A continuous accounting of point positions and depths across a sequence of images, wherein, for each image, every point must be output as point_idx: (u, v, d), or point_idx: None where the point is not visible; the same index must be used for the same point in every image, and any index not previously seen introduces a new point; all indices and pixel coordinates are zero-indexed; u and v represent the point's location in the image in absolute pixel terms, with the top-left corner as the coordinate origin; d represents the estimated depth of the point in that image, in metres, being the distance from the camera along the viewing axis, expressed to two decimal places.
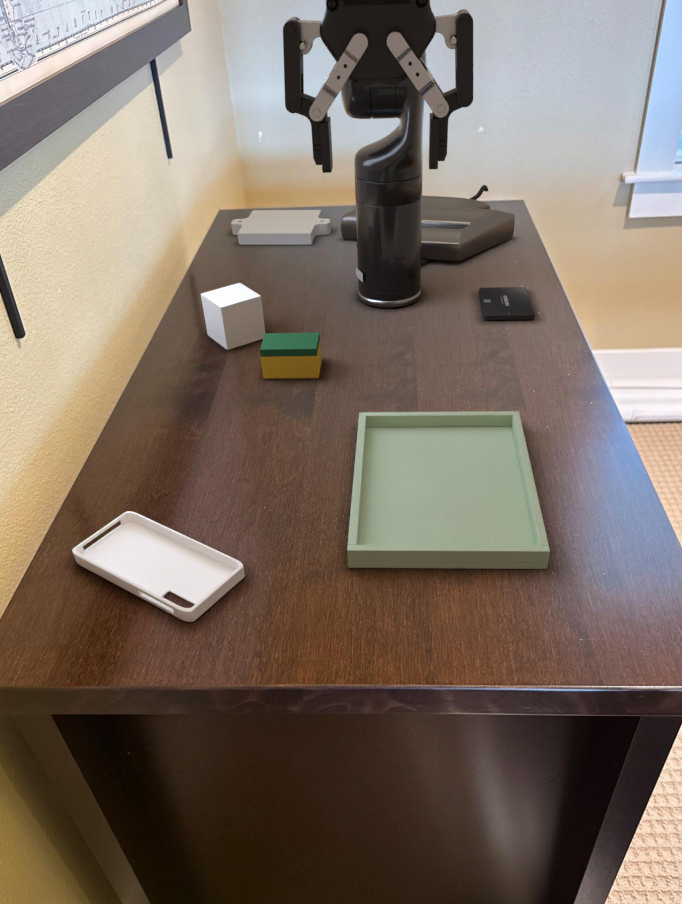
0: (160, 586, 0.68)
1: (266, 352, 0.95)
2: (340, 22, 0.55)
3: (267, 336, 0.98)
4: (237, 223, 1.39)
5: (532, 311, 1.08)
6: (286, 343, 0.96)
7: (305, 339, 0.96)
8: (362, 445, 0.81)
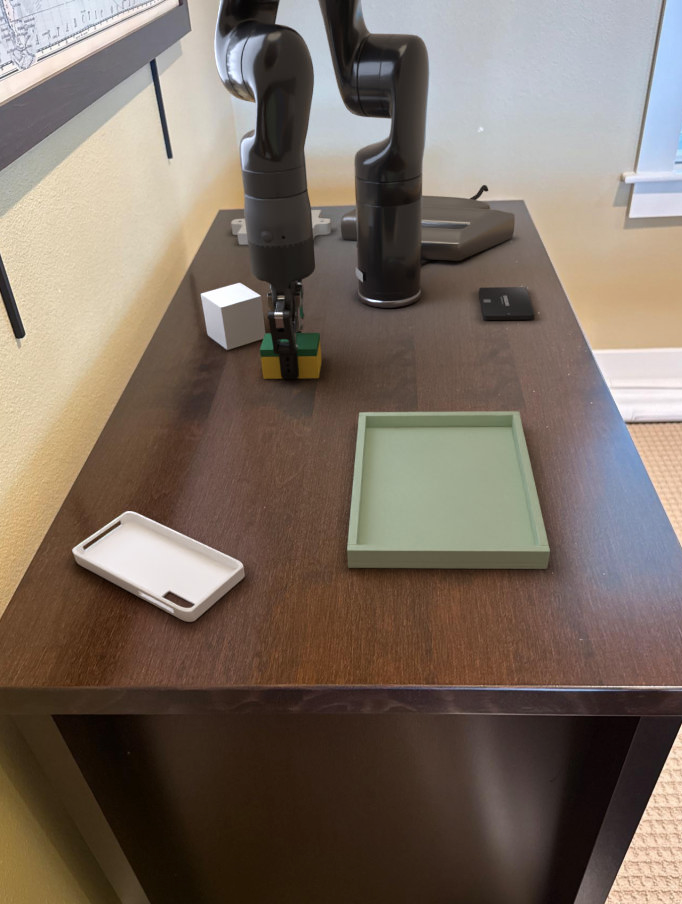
0: (160, 586, 0.68)
1: (266, 353, 0.95)
2: None
3: (267, 336, 0.98)
4: (237, 223, 1.39)
5: (532, 311, 1.08)
6: None
7: (305, 340, 0.96)
8: (362, 445, 0.81)
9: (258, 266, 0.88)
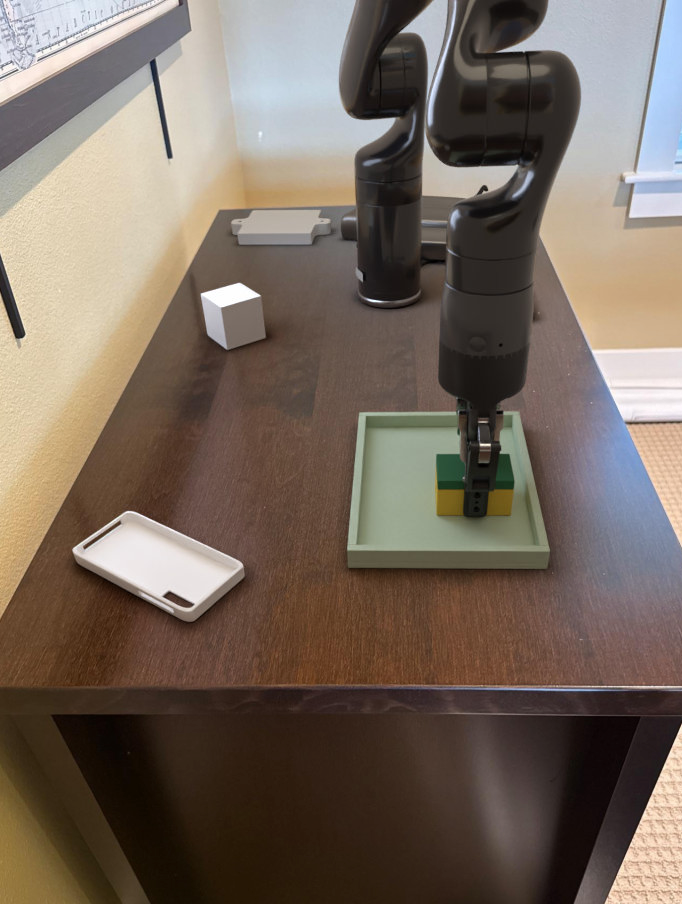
0: (160, 586, 0.68)
1: (446, 485, 0.71)
2: None
3: (441, 459, 0.74)
4: (237, 223, 1.39)
5: None
6: None
7: None
8: (362, 445, 0.81)
9: (456, 380, 0.64)
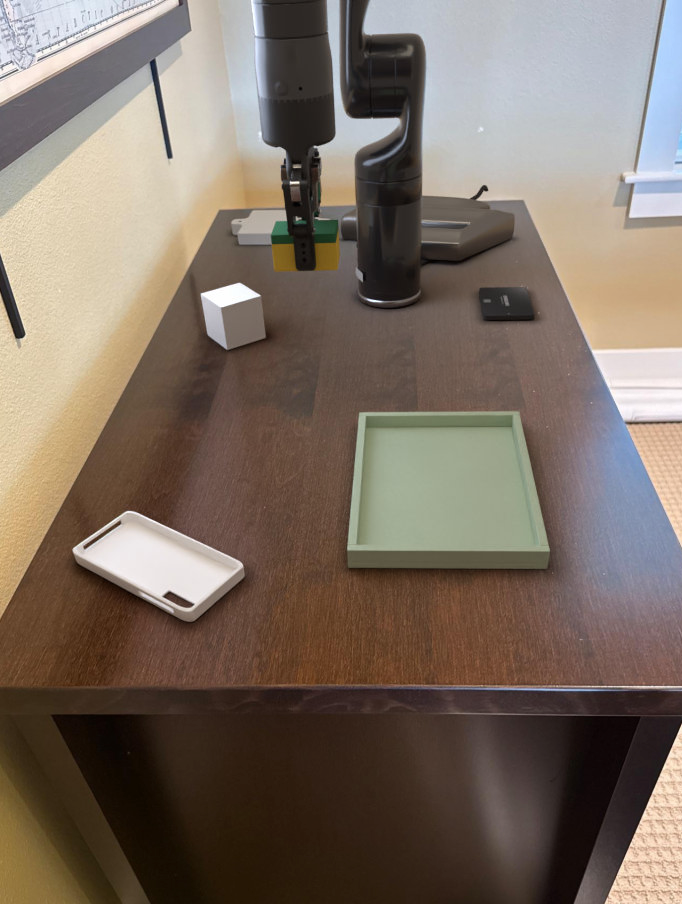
0: (160, 586, 0.68)
1: (278, 239, 0.83)
2: None
3: (278, 223, 0.86)
4: (237, 223, 1.39)
5: (532, 311, 1.08)
6: None
7: (322, 226, 0.84)
8: (362, 445, 0.81)
9: (270, 128, 0.76)
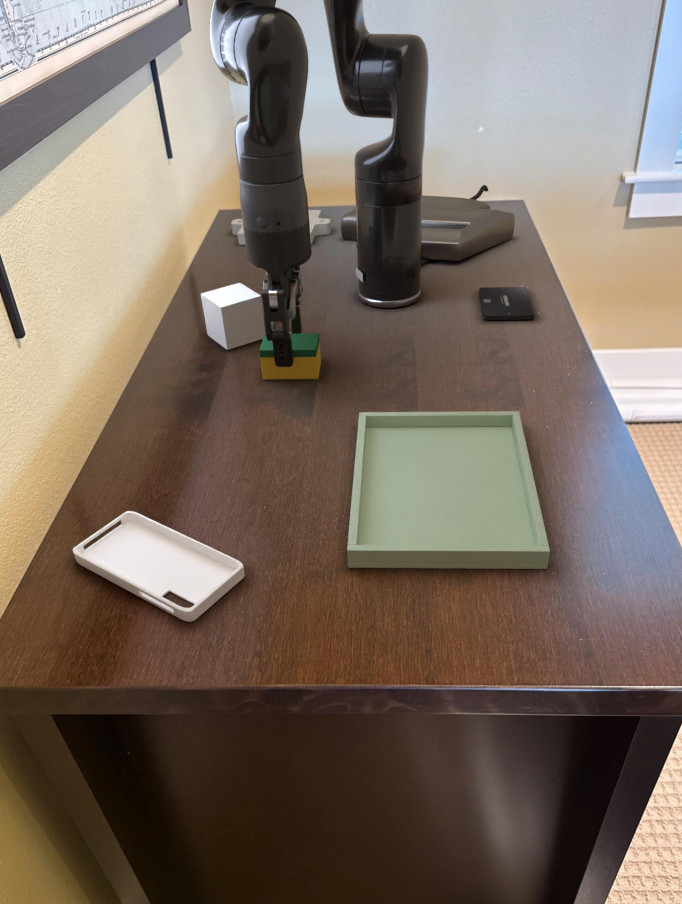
0: (160, 586, 0.68)
1: (266, 353, 0.95)
2: None
3: None
4: (237, 223, 1.39)
5: (532, 311, 1.08)
6: None
7: (304, 340, 0.96)
8: (362, 445, 0.81)
9: (254, 253, 0.87)
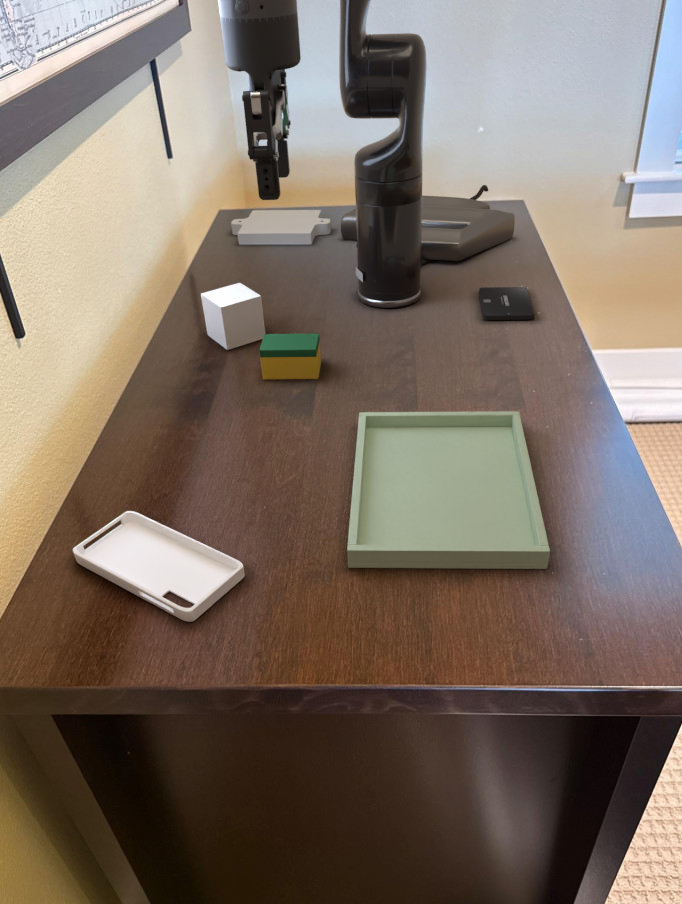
0: (160, 586, 0.68)
1: (266, 353, 0.95)
2: None
3: (267, 337, 0.97)
4: (237, 223, 1.39)
5: (532, 311, 1.08)
6: (285, 344, 0.96)
7: (304, 340, 0.96)
8: (362, 445, 0.81)
9: (233, 50, 0.74)
